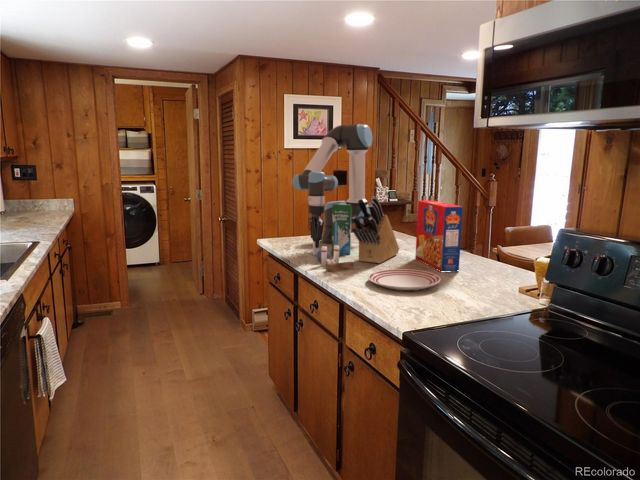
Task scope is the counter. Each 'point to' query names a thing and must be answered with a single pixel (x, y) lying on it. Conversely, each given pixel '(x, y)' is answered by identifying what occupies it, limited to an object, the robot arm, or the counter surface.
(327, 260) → the front pin
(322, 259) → the pin
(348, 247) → the milk carton
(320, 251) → the ball
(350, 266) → the brown wooden bar
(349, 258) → the counter surface
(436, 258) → the pasta box
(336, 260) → the pin
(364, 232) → the knife block
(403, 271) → the dinner plate
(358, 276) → the counter surface
